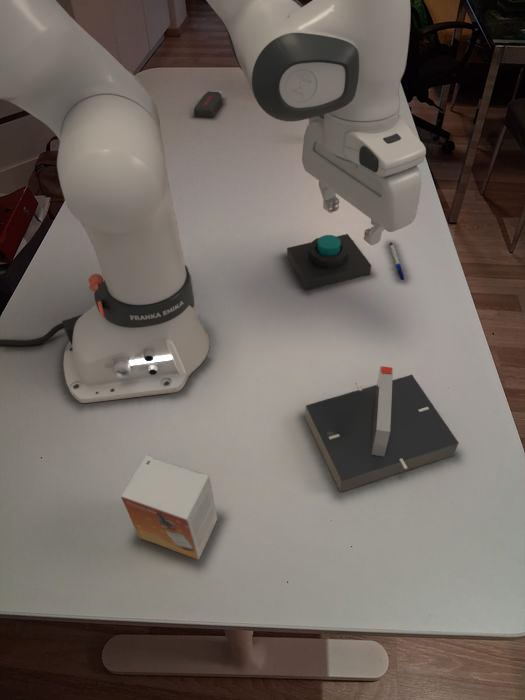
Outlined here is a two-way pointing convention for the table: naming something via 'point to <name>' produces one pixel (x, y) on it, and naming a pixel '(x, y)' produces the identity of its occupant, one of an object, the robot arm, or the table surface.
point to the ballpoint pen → (397, 262)
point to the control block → (328, 263)
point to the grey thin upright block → (382, 411)
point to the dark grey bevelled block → (208, 104)
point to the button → (328, 245)
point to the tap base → (357, 431)
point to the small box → (171, 506)
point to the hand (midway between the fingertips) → (350, 225)
